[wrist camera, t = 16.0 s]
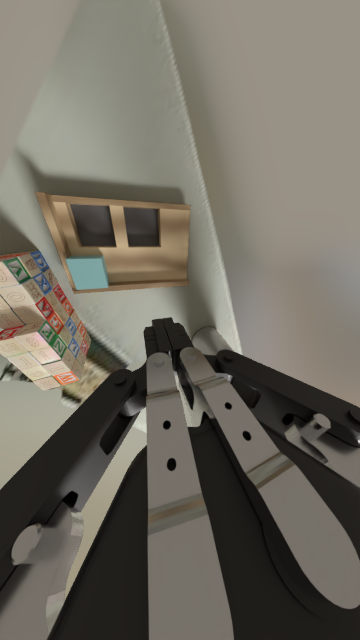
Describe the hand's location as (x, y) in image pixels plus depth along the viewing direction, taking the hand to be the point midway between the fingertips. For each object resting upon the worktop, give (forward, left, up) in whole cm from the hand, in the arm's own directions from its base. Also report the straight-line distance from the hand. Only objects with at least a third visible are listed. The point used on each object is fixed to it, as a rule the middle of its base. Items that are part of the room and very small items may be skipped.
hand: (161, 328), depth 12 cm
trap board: (+3, +1, -24) cm, 25 cm away
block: (-1, +9, -22) cm, 24 cm away
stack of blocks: (-8, +19, -25) cm, 32 cm away
